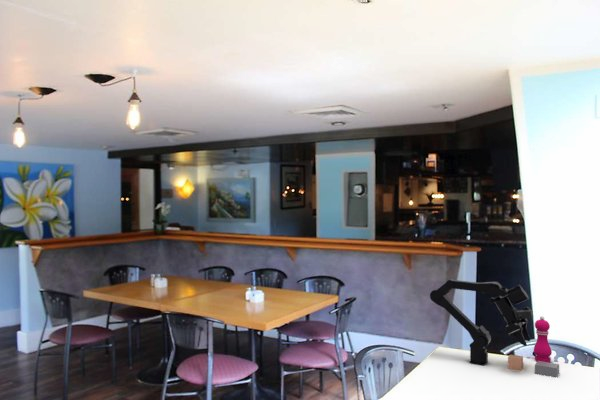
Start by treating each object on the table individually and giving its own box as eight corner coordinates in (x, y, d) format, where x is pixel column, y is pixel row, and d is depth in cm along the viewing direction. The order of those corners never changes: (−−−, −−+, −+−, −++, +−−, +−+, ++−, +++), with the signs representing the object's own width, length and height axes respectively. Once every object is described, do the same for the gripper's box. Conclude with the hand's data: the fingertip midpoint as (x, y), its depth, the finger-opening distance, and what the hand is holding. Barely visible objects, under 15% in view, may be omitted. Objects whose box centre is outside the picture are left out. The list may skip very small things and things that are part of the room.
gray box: (535, 374, 193) (534, 364, 193) (537, 370, 199) (537, 360, 199) (557, 378, 189) (556, 368, 189) (559, 374, 194) (559, 364, 195)
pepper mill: (555, 363, 208) (554, 318, 209) (538, 363, 208) (537, 317, 209) (546, 359, 215) (546, 314, 216) (530, 358, 215) (530, 314, 216)
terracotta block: (508, 368, 200) (508, 357, 200) (510, 366, 204) (510, 354, 204) (520, 371, 197) (520, 359, 197) (523, 368, 201) (522, 356, 201)
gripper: (520, 304, 192) (542, 340, 187) (527, 298, 207) (548, 331, 202) (495, 315, 197) (516, 351, 192) (504, 308, 212) (524, 341, 208)
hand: (527, 343), depth 198 cm, fingers open, 9 cm apart
